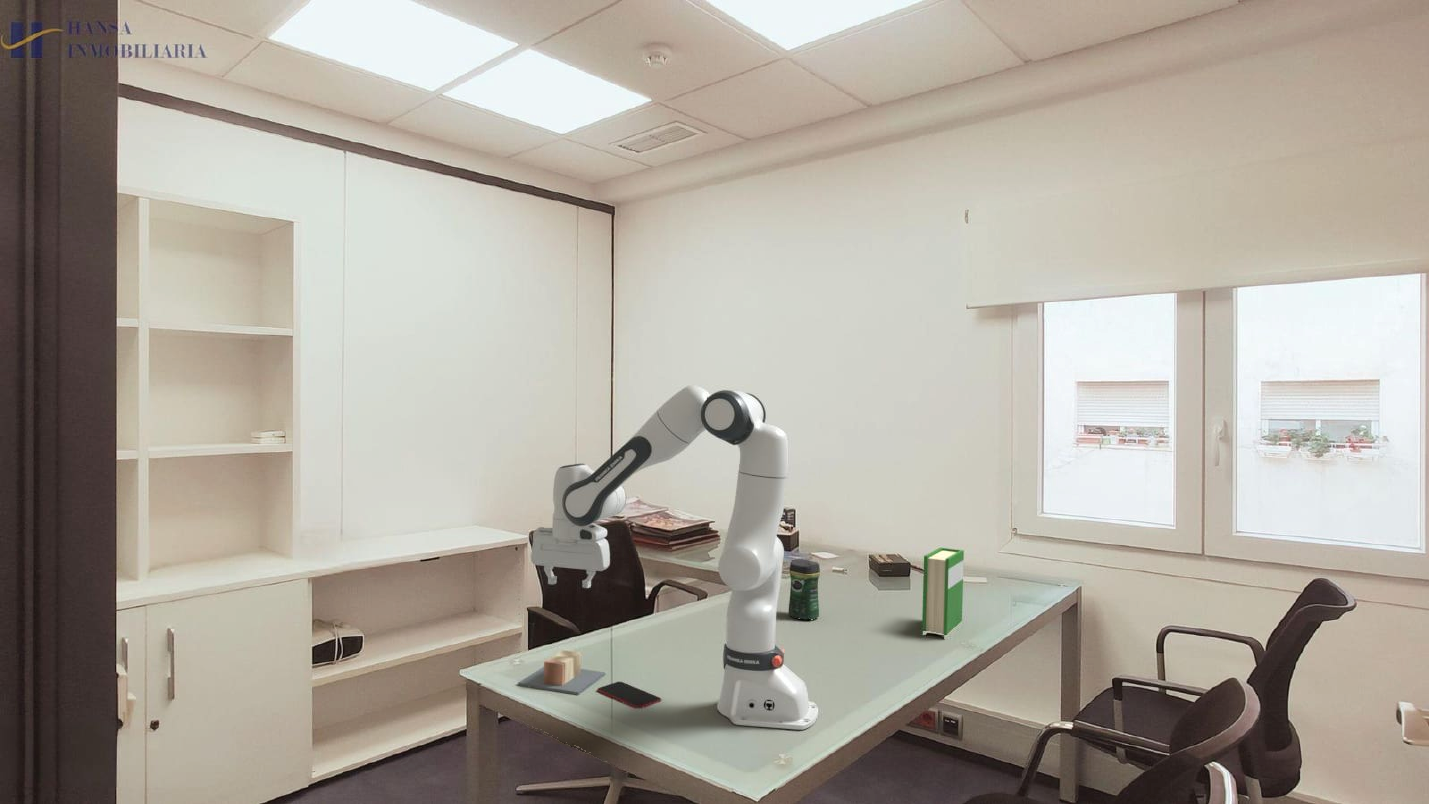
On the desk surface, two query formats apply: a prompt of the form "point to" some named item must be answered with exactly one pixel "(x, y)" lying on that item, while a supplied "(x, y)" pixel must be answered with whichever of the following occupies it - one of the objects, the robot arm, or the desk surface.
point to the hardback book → (942, 590)
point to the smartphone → (629, 694)
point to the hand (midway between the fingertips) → (569, 585)
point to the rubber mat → (571, 687)
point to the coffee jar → (804, 589)
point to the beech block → (562, 667)
